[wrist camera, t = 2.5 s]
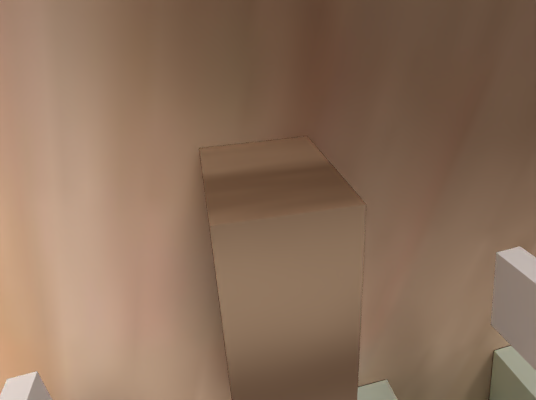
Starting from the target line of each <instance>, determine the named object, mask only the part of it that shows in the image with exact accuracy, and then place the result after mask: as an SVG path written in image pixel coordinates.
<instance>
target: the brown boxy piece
mask: <svg viewBox="0 0 536 400" xmlns="http://www.w3.org/2000/svg"><path fill="white" fill-rule="evenodd" d="M199 151H200V159H201V166H202V174H203V182H204V189H205V197H206V205H207V212H208V220H209V228H210V236H211V243H212V251H213V259H214V266H215V274H216V282H217V289H218V297H219V305H220V312H221V320H222V328H223V335H224V343H225V351H226V358H227V366H228V374H229V381H230V389H231V397H232V400H357V393H358V372H359V351H360V330H361V308H362V287H363V266H364V244H365V223H366V204H365V202H364V201H363V200H362V199H361V198H360V197H359V196H358V194H357V193H356V192H355V191H354V190H353V189H352V187H351V186H350V185H349V184H348V183H347V182H346V180H345V179H344V178H343V177H342V176H341V175H340V174H339V172H338V171H337V170H336V169H335V168H334V167H333V165H332V164H331V163H330V162H329V161H328V160H327V159H326V157H325V156H324V155H323V154H322V153H321V152H320V150H319V149H318V148H317V147H316V146H315V145H314V144H313V142H312V141H311V140H310V139H309V138H308V137H307V136H303V137H294V138H285V139H276V140H267V141H259V142H250V143H241V144H232V145H223V146H214V147H205V148H199Z"/></svg>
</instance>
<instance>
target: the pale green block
mask: <svg viewBox="0 0 536 400" xmlns="http://www.w3.org/2000/svg"><path fill="white" fill-rule="evenodd" d="M357 400H398V399H397V398H396V396H395V394H394V392H393V390H392V388H391V386H390V384H389V383H388V381H387V380H383V381H380V382H376V383H372V384H369V385H365V386H361V387H358V393H357ZM489 400H536V371H535V370H534V369H533V367H532V366H531V365H530V364H529V363H528V362H527V361H526V360H525V359H524V358H523V357H522V356H521V355H520V354H519V353H518V352H517V351H516V350H515V349H514V348H513V347H512V346H509V347H505V348H501V349H498V350H494V357H493V367H492V377H491V387H490V397H489Z"/></svg>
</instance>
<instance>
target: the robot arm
mask: <svg viewBox="0 0 536 400" xmlns="http://www.w3.org/2000/svg"><path fill="white" fill-rule="evenodd" d="M491 325H492V326H493V327H494V328H495V329H496V330H497V331H498V332H499V334H500V335H501V336H502V337H503V338H504V339H505V340H506V341H507V342H508V343H509V344H510V345H511V346H512V347H513V348H514V349H515V350H516V351H517V352H518V353H519V354H520V355H521V356H522V357H523V358H524V359H525V360H526V361H527V362H528V363H529V364H530V365H531V366H532V367H533V369H534V370H535V371H536V257H534V256H533V255H532V254H530V253H529V252H527V251H526V250H525V249H523V248H522V247H520V246H519V247H515V248H512V249H508V250H504V251H500V252H496V263H495V276H494V289H493V302H492V315H491ZM0 400H52V398H51V396H50V394H49V392H48V391H47V389H46V387H45V385H44V383H43V381H42V379H41V377H40V376H39V374H38V372H37V371H36V372H32V373H29V374H25V375H21V376H17V377H13V378H9V379H7V380H6V383H5V385H4V387H3V390H2V392H1V394H0Z"/></svg>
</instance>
